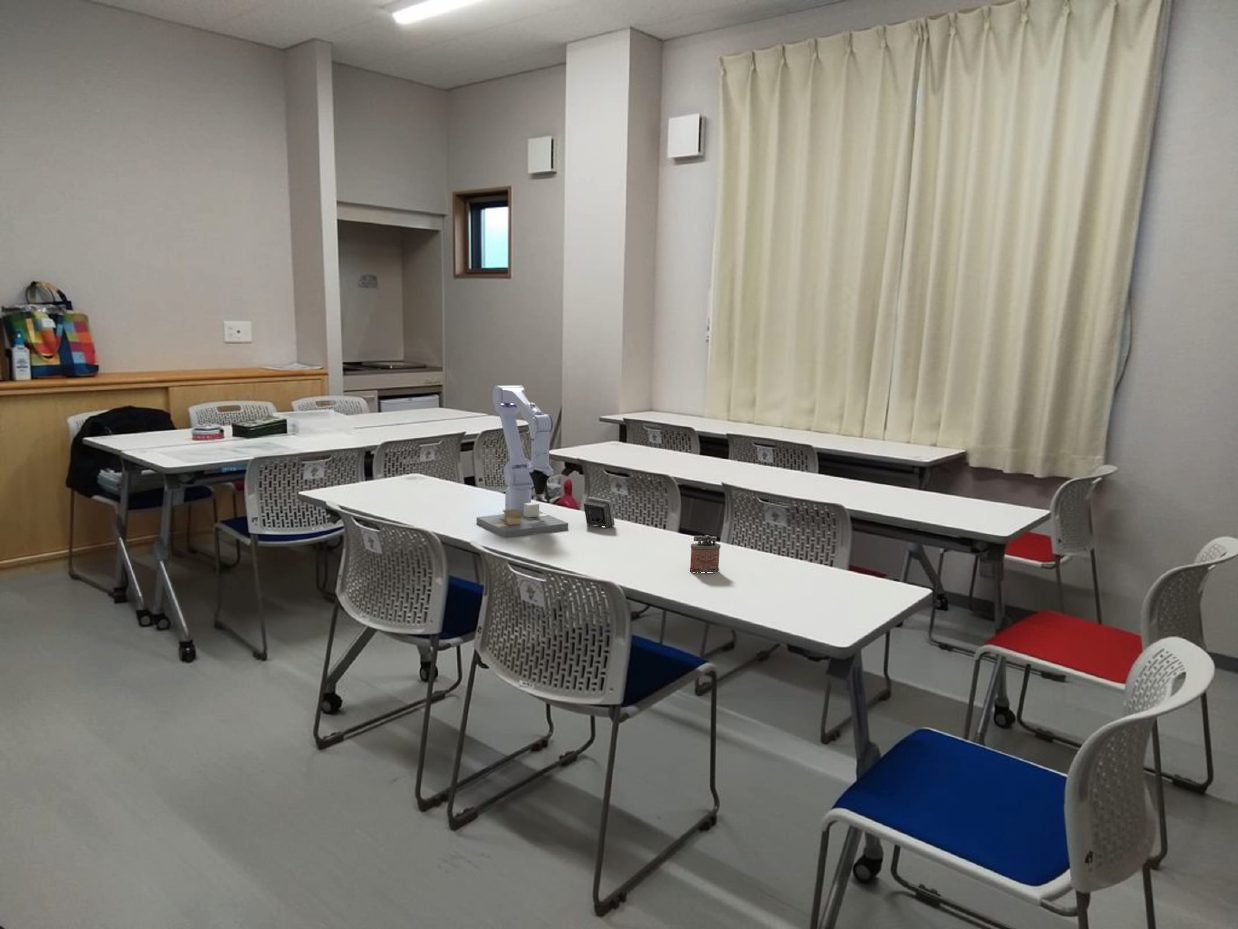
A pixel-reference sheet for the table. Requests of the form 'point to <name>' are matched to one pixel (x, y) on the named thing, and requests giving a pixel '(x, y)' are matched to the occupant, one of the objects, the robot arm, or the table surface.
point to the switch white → (531, 509)
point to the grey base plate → (522, 525)
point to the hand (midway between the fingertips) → (539, 494)
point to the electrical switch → (599, 512)
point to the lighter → (705, 555)
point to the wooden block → (512, 517)
